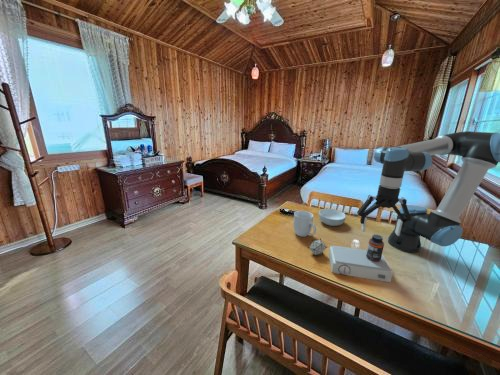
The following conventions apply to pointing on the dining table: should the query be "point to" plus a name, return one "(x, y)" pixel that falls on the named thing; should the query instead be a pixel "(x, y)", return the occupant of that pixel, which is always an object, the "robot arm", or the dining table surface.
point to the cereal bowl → (332, 217)
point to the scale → (358, 264)
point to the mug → (303, 223)
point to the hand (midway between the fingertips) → (379, 232)
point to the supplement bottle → (375, 248)
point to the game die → (317, 247)
